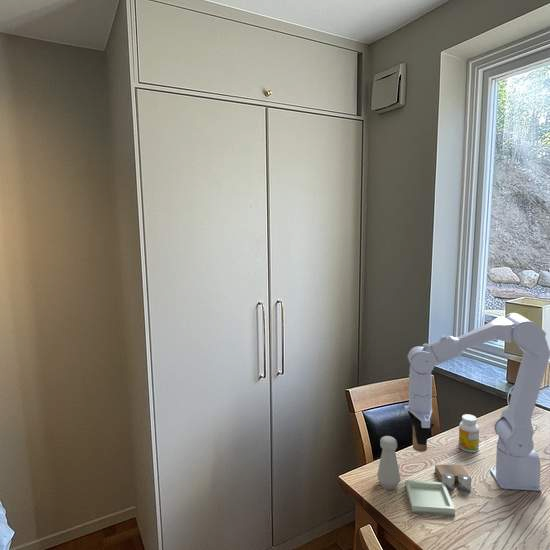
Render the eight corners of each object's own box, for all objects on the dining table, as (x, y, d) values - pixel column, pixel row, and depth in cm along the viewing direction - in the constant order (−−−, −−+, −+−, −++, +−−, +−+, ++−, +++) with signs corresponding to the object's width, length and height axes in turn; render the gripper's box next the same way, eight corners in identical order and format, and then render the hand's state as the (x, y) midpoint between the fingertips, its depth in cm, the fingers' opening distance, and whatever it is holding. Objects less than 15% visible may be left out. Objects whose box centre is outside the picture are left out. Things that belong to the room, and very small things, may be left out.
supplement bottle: (455, 442, 123) (456, 413, 122) (473, 442, 123) (474, 412, 122) (463, 452, 118) (464, 421, 117) (481, 452, 118) (482, 421, 116)
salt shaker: (401, 493, 101) (401, 445, 100) (378, 491, 103) (377, 444, 101) (398, 479, 107) (398, 433, 105) (376, 477, 108) (376, 432, 107)
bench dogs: (468, 484, 104) (469, 474, 103) (472, 492, 101) (472, 481, 100) (440, 483, 105) (440, 472, 104) (443, 490, 102) (443, 480, 101)
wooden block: (460, 472, 109) (461, 464, 109) (468, 484, 104) (469, 475, 104) (435, 473, 110) (435, 464, 109) (441, 484, 105) (442, 476, 104)
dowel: (425, 444, 110) (425, 417, 109) (428, 452, 106) (428, 423, 105) (411, 444, 110) (411, 417, 109) (414, 451, 107) (414, 423, 106)
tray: (443, 488, 102) (444, 482, 102) (454, 515, 93) (455, 508, 93) (405, 486, 104) (405, 480, 104) (412, 512, 95) (412, 505, 94)
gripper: (400, 381, 114) (400, 425, 116) (409, 403, 100) (409, 454, 102) (426, 381, 113) (425, 426, 115) (439, 404, 99) (438, 455, 100)
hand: (419, 439), depth 108 cm, fingers closed on dowel, 4 cm apart
